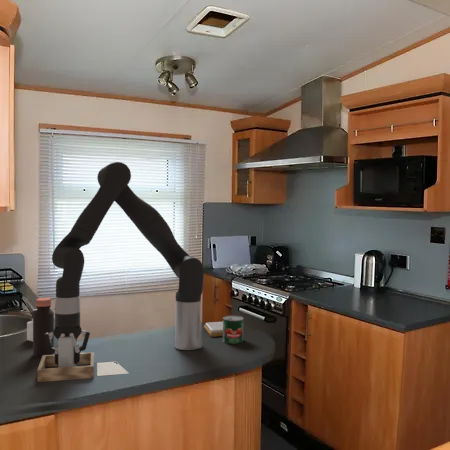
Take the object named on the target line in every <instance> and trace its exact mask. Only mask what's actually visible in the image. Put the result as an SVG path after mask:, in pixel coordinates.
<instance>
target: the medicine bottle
mask: <svg viewBox="0 0 450 450" xmlns="http://www.w3.org/2000/svg"><path fill="white" fill-rule="evenodd" d="M36 310H37V308H36V309H33V310H32V311H31V320H30V321H27V322H26V340H27V341H28V342H32V343H33V313H34V312H35V311H36Z"/></svg>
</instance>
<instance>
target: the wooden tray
mask: <svg viewBox="0 0 450 450" xmlns="http://www.w3.org/2000/svg"><path fill="white" fill-rule="evenodd" d="M88 364H89V365H88ZM47 367H48V368H47ZM94 375H95V351H90V352H80V361H79V362H78V363H77V364H76V366H75V367H61V368H58V366H57V364H55V354H53V355H43V356H42V358H40V362H39V365H38V367H37V371H36V376H37V378H36V379H37V383H43V382H55V381H57V382H58V381H69V380H80V379H81V380H83V379H93V378H94V377H95V376H94Z"/></svg>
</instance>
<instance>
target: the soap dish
mask: <svg viewBox="0 0 450 450" xmlns="http://www.w3.org/2000/svg"><path fill="white" fill-rule="evenodd" d="M203 328H204V330H205V331H206V332H207V334H208V335H209V336H210V337H211V338H212V337H213V338H215V337H223V321H214V322H213V321H212V322H206V323H205V324H204V325H203Z"/></svg>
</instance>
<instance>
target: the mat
mask: <svg viewBox="0 0 450 450" xmlns="http://www.w3.org/2000/svg"><path fill="white" fill-rule="evenodd" d="M114 362H115V361H105V362H97V363H96V375H97V377H104V376H118V375H125V374H126V375H128V374H129V371H127V370H126V369H125V368H124V367H123V366H122V365H120V364H119V363H118V364H116V363H114Z"/></svg>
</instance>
